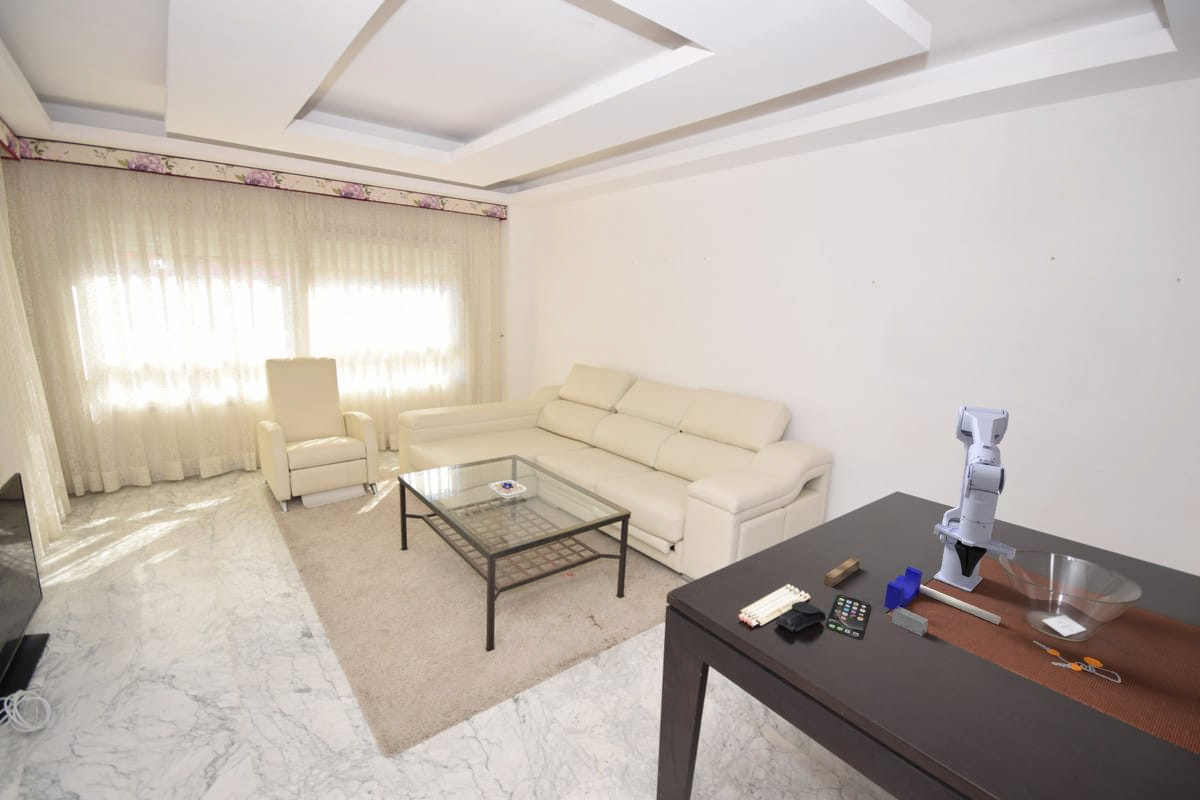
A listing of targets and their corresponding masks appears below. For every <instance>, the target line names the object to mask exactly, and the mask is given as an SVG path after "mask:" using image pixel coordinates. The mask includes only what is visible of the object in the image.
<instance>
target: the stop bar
mask: <svg viewBox="0 0 1200 800" xmlns="http://www.w3.org/2000/svg"><path fill="white" fill-rule="evenodd" d="M860 563H861V560H860V559H858V558H856V557H852V556H851V557H849V559H847V560H845V561H844V562H843V563H841V564H840V565H838V566H836V567H835V568H833V569H831V570H830V571H829V572H827V573H826V574H825V575H824V582H823V584H825V585H826V586H828V587H830V588H833V587H835V586H836V585H837V584H839V583H840V582H842V581H843V580H844V579H846V578H847V577H849V576H850V575H852V574H853V573H855V572H856V571H857V570H859V567H860Z"/></svg>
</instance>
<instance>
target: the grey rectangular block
mask: <svg viewBox="0 0 1200 800" xmlns="http://www.w3.org/2000/svg"><path fill="white" fill-rule="evenodd" d="M892 611H893V610H892ZM891 623H892V624H895V625H896V626H899V627H901V628H903V629H905V630H908V631H909V632H912V633H914V634H916V635H918V636H920V637H923V636H924V635H925V634H926V633H927V631H928V630H927V628H928V623H929V619H928V618H927V617H923V616H922V615H919V614H917V613H914V612H912V611H910V610H908V609H906V608H905V607H904V608H902V607H899V606H898V607H897V608H895V609H894V611H893V612H892V618H891Z"/></svg>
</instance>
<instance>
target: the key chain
mask: <svg viewBox="0 0 1200 800" xmlns="http://www.w3.org/2000/svg"><path fill="white" fill-rule="evenodd" d="M1032 643H1034V644H1036V645H1038V646H1040V647H1041V648H1043V649H1045V650H1046V652H1047V653H1048V654H1050V655H1052V656H1057V658H1059V659H1060V660H1062V661H1064V662H1065V663H1061V662H1055V661H1051V664H1052V665H1054V666H1059V667H1062V668H1067V669H1071V670H1072V671H1075V672H1081V671H1082V670H1084V671H1085V672H1090V673H1091V674H1094V675H1097V676H1099V677H1101V678H1104V679H1107V680H1109V681H1111V682H1113V683H1117V684H1121V682H1122V679H1121V677H1120V675H1119V674H1118V673H1117V672H1115V671H1111V670H1107V669H1104V668H1103V664H1102V662H1101V661H1099V660H1097V659H1095V658H1092V657H1083V661H1084V662H1085V663H1087V664H1088V665H1086V664H1084V663H1082V662H1077V661H1076V662H1069V661H1067V660H1066V659H1064V658H1063V657H1061V656H1060V654H1061V653H1060V652H1059V651H1058V650H1056V649H1053V648H1050V647H1048V646H1046V645H1044V644H1042V643H1040V642H1039V641H1037V640H1033V641H1032ZM1096 669H1099V670H1102V671H1104V672H1105V671H1106V672H1108V673H1110V674H1114V675H1115V676H1116V677H1117V680H1115V679H1113V678H1110V677H1107V676H1105V675H1102V674H1101V673H1098V672H1096Z"/></svg>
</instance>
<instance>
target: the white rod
mask: <svg viewBox="0 0 1200 800" xmlns="http://www.w3.org/2000/svg"><path fill="white" fill-rule="evenodd" d="M919 594H923V595H925V596H926V597H927V596H928V597H930V598H933V599H935V600H938V601H940V602H942V603H945V604H947V605H949V606H952V607H954V608H957V609H960V610H961V611H964V612H966V613H970V614H971V615H972V616H973V615H974V616H976V617H978V618H980V619H983V620H985V621H989V623H990V622H991V623H993V624H995V625H998V626H999V625H1000V623H1001V620H1002V616H999V615H997V614H994V613H992V612H989V611H987V610H985V609H982V608H980V607H977V606H975V605H973V604H969V603H967V602H964V600H963V601H962V600H960V599H957V598H954V597H952V596H950V595H947V594H945V593H942V592H940V591H938V590H935V589H932V588H930V587H927V586H925V585H923V584H920V590H919Z"/></svg>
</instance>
